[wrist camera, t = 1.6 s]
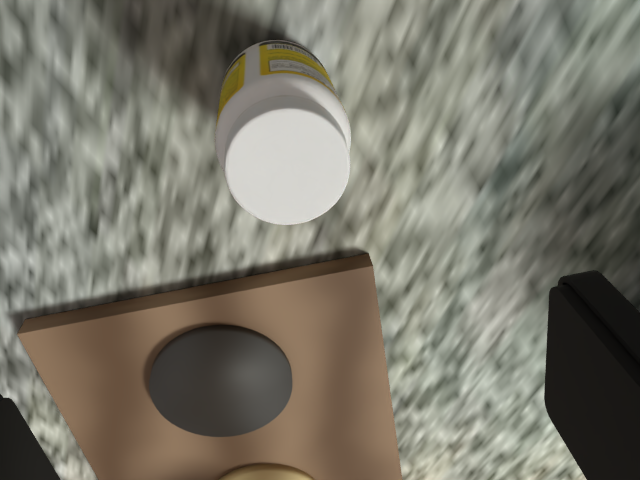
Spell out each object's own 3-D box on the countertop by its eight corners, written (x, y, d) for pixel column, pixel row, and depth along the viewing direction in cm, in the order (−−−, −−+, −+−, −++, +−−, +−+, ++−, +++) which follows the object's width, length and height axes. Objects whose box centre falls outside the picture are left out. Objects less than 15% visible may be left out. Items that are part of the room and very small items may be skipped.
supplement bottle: (250, 161, 27) (249, 257, 19) (202, 66, 24) (180, 134, 17) (346, 120, 26) (382, 202, 19) (306, 18, 24) (330, 69, 17)
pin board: (368, 253, 30) (374, 272, 28) (404, 511, 41) (410, 535, 39) (25, 319, 30) (12, 342, 28) (155, 560, 41) (151, 585, 39)
